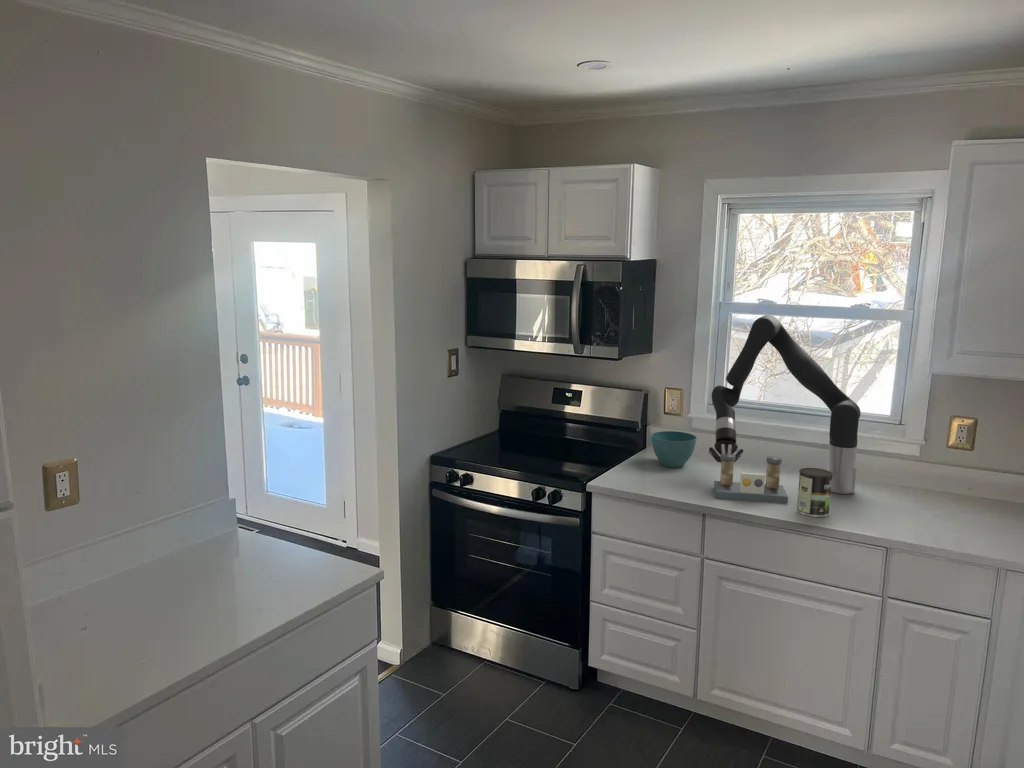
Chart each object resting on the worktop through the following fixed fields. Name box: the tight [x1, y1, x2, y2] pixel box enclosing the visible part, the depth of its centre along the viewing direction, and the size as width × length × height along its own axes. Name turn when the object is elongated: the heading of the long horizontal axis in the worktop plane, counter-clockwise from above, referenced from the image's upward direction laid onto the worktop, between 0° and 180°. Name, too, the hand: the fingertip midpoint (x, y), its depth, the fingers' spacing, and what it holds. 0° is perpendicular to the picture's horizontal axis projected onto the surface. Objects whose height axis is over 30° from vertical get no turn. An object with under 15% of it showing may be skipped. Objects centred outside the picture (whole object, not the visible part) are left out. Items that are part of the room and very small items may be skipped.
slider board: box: [713, 471, 789, 504], centre depth 264 cm, size 24×13×10 cm, turn 78°
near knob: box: [765, 455, 783, 489], centre depth 265 cm, size 5×5×11 cm
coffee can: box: [796, 467, 833, 518], centre depth 247 cm, size 10×10×14 cm
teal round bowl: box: [650, 430, 698, 468], centre depth 302 cm, size 18×18×12 cm
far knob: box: [719, 454, 736, 485], centre depth 269 cm, size 5×5×11 cm
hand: (726, 471), depth 272 cm, fingers closed
